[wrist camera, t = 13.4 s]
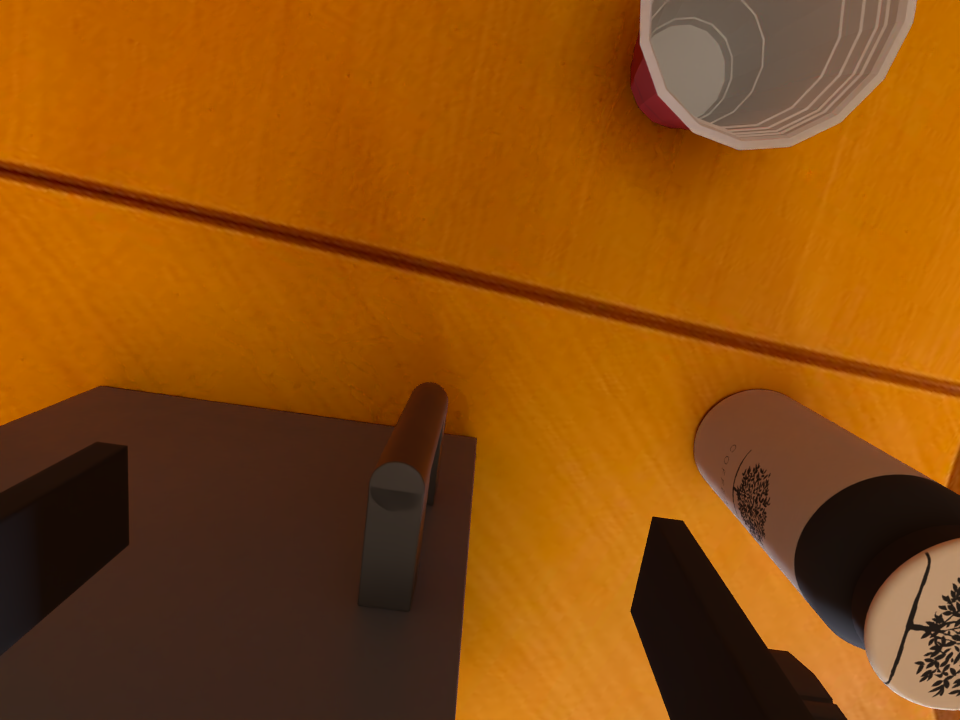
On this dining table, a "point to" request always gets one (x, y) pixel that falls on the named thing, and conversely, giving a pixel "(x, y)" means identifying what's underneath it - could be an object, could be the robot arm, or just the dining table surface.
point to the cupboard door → (255, 565)
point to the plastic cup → (762, 64)
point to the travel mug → (846, 534)
